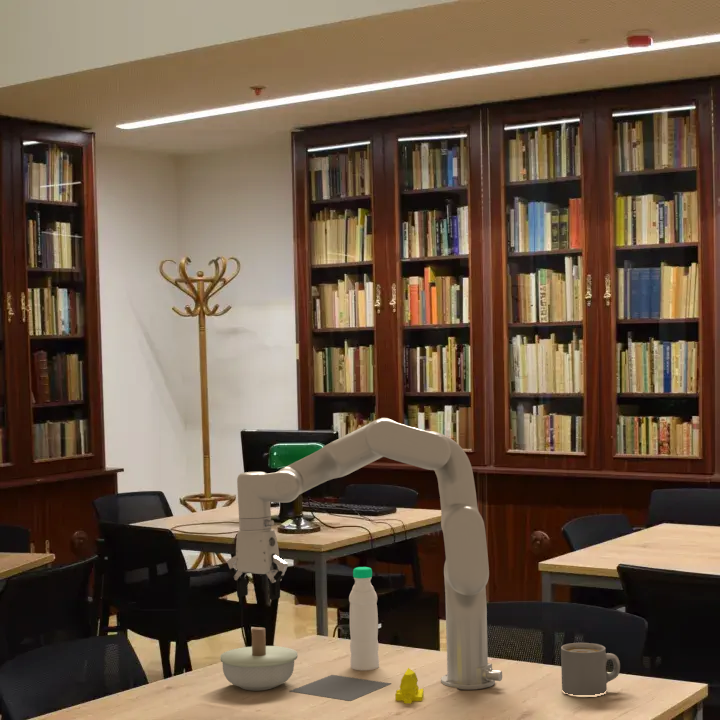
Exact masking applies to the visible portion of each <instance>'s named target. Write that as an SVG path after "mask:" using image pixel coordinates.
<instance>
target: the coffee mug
mask: <svg viewBox="0 0 720 720" xmlns="http://www.w3.org/2000/svg"><path fill="white" fill-rule="evenodd" d="M606 649H607V648H606V647H605V646H604V645H602V644H599V643H593V642H591V643H589V642H573V643H566V644H563V645H561V647H560V660H561V661H560V662H561V666H560V667H561V669H560V670H561V691H562V690H563V691H564V692H565V693H568V694H573V695H595V694H600V693H604V692H605V691H606V690H608V687H607V686H608V685H607V684H608V682H610V681H613V680H615V679H617V678H618V676H619V674H620V670H621V663H620V662H621V661H620V660H619V659H620V658H619V657H618V656H617V655H616V654H614V653H611V652H610V653H609V652H607V653H606V651H607V650H606ZM609 660H610V661H612V664H613V669H612V671H611V672H607V662H608V661H609Z"/></svg>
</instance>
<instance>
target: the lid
mask: <svg viewBox="0 0 720 720" xmlns="http://www.w3.org/2000/svg"><path fill="white" fill-rule="evenodd" d="M266 637H267V636H266V628H265V627H260V626H259V627H253V628H251V646H244V647H239V648H238V647H237V648H233V649H229V650H226V651H224V652H223V653H221V654H220V657H219V658H220V663H221V664H223V663H224V664H227V665H231V666H237V667H269V666H276V665H282V664H286V663H289V662H292V661H294V662H295V661H296V660H297V659H298V651H297V650H295V649H293V648H290V647H286V646H278V645H277V646H276V645H266V642H267V639H266Z"/></svg>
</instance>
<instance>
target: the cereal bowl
mask: <svg viewBox="0 0 720 720" xmlns="http://www.w3.org/2000/svg"><path fill="white" fill-rule="evenodd" d="M294 668H295V660H294V661H292V662H289V663H286V664H282V665H276V666H269V667H237V666H231V665H227V664H224V663H222V671H223V675H224V677H225V679H226V680H227V681H228V683H230V684H231V685H233V686H237V687H239V688H241V689H243V690H246V691H247V690H248V691H266V690H271V689H273V688H276V687H278V686H280V685H282V684H284V683H286V682H287V681H289V679H291V677H292V675H293V674H294Z"/></svg>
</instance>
